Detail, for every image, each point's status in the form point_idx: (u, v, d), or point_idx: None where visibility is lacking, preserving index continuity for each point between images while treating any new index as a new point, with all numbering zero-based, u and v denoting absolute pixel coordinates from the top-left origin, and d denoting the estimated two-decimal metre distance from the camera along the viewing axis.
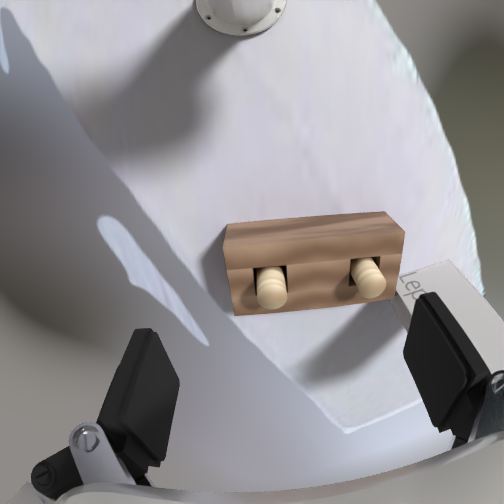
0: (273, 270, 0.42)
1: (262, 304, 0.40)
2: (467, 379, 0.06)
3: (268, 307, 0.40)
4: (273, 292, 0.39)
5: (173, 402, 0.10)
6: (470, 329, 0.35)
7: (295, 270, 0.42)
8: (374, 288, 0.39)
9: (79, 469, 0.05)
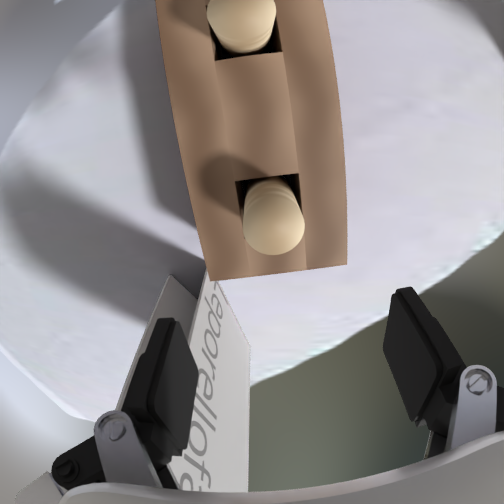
0: None
1: None
2: (439, 373, 0.06)
3: (212, 6, 0.13)
4: (256, 11, 0.13)
5: (193, 391, 0.10)
6: (223, 443, 0.21)
7: (270, 69, 0.18)
8: (269, 231, 0.19)
9: (101, 458, 0.05)
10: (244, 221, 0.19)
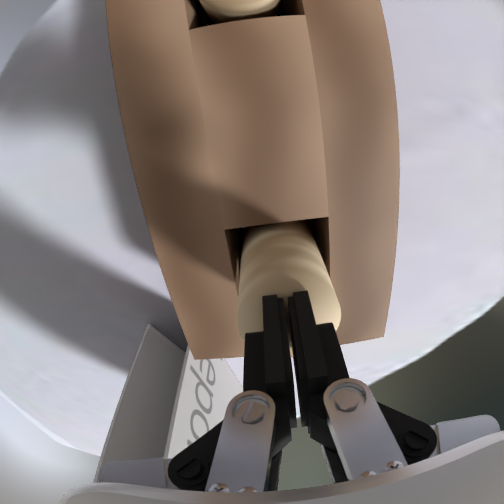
0: None
1: None
2: (306, 381, 0.07)
3: None
4: None
5: None
6: None
7: (285, 41, 0.10)
8: None
9: (221, 436, 0.06)
10: (239, 314, 0.11)
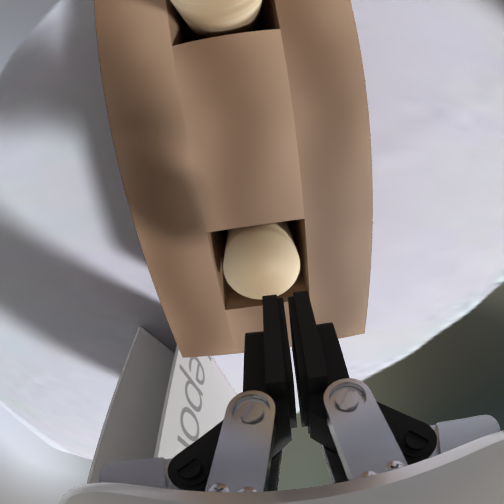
0: None
1: None
2: (306, 381, 0.07)
3: None
4: None
5: None
6: None
7: (261, 55, 0.11)
8: (256, 273, 0.16)
9: (221, 436, 0.06)
10: (225, 261, 0.15)
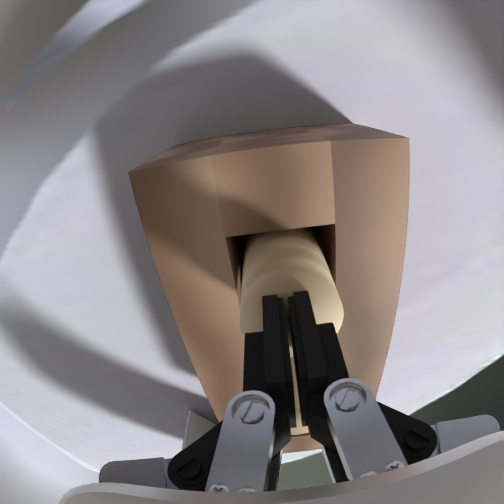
0: None
1: (261, 296, 0.11)
2: (306, 381, 0.07)
3: (248, 314, 0.11)
4: None
5: None
6: None
7: None
8: None
9: (221, 436, 0.06)
10: None
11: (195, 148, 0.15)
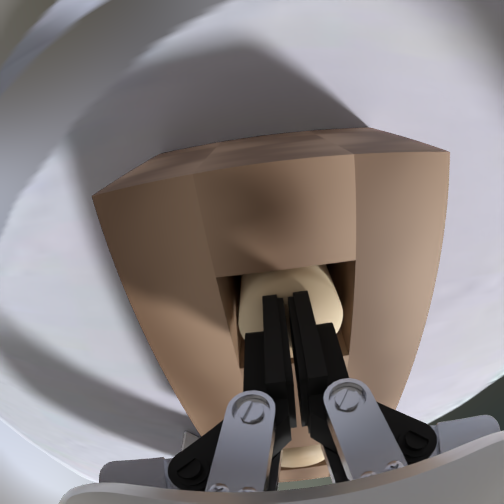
0: None
1: (260, 297, 0.11)
2: (305, 381, 0.07)
3: (247, 315, 0.11)
4: None
5: None
6: None
7: None
8: (296, 460, 0.18)
9: (221, 436, 0.06)
10: None
11: (179, 159, 0.12)
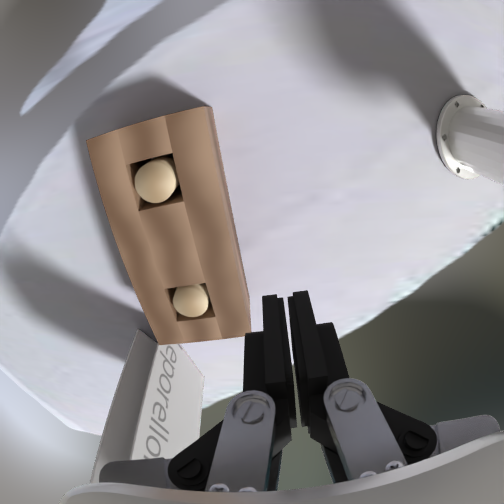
0: None
1: (141, 171, 0.26)
2: (306, 381, 0.07)
3: (137, 180, 0.26)
4: (163, 183, 0.27)
5: None
6: (174, 449, 0.31)
7: (177, 215, 0.28)
8: (188, 305, 0.33)
9: (221, 436, 0.06)
10: (173, 300, 0.33)
11: None
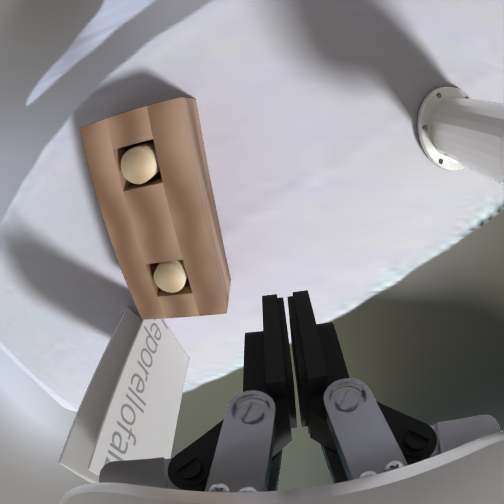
0: None
1: (126, 155, 0.28)
2: (305, 381, 0.07)
3: (123, 163, 0.29)
4: (144, 166, 0.29)
5: None
6: (149, 421, 0.34)
7: (156, 195, 0.30)
8: (167, 281, 0.35)
9: (221, 436, 0.06)
10: (154, 275, 0.35)
11: None
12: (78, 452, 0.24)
